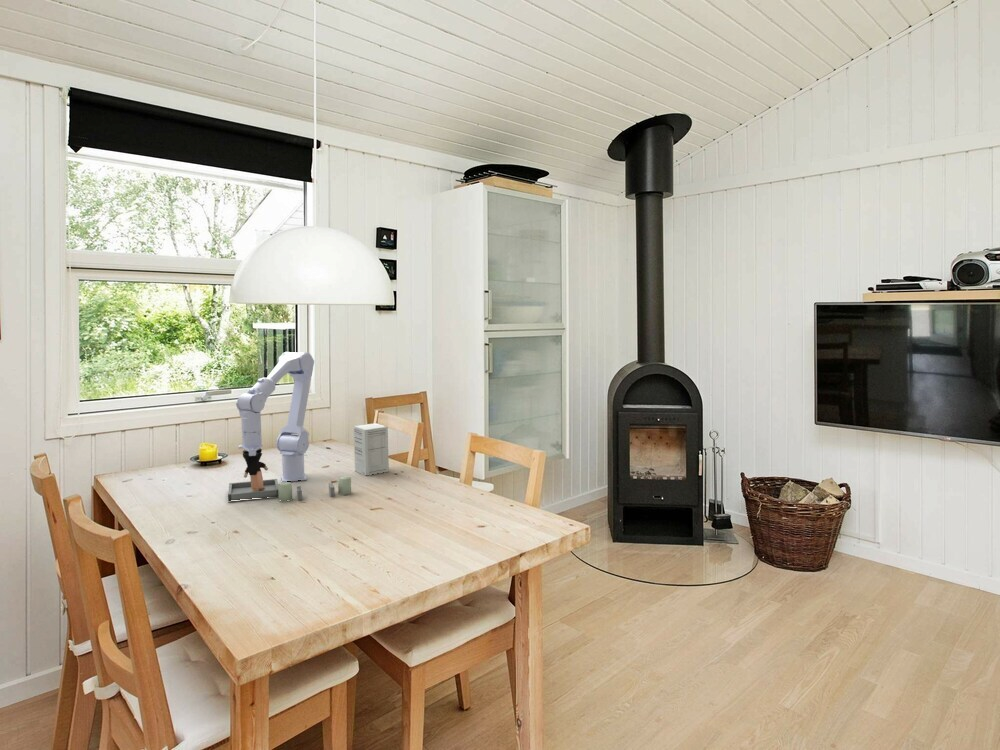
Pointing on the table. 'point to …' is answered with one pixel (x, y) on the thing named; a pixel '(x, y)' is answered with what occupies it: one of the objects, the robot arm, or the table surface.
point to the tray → (244, 490)
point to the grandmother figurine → (257, 478)
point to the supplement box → (371, 449)
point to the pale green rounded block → (285, 491)
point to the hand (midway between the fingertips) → (253, 473)
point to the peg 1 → (344, 485)
